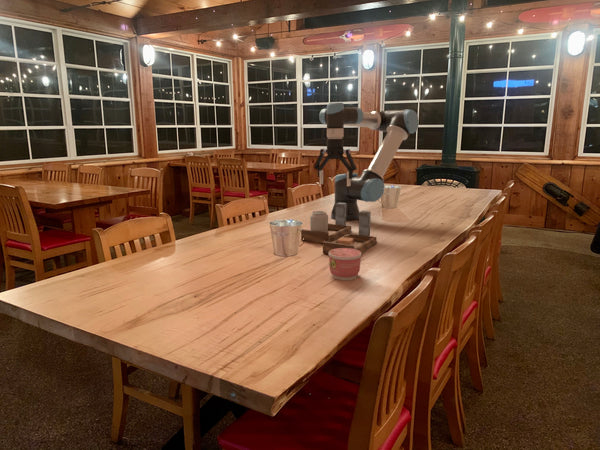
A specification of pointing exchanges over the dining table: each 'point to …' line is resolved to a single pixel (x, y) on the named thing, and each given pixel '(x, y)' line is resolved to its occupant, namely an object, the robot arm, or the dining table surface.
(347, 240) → the cube
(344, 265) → the container
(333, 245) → the lane
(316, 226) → the can
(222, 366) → the dining table surface
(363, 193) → the robot arm
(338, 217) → the frame
